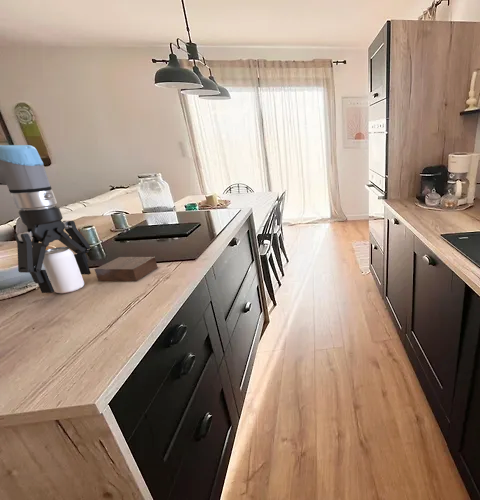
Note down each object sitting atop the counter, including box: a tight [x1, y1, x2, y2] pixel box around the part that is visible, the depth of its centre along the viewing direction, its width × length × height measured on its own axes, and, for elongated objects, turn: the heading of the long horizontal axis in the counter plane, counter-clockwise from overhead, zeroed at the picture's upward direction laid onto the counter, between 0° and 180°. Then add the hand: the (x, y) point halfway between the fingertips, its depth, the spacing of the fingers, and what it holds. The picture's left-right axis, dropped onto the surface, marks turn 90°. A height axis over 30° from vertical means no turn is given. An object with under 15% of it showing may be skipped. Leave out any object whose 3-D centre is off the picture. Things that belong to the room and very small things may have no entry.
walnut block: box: [94, 256, 159, 282], centre depth 92 cm, size 12×10×4 cm
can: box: [42, 246, 85, 295], centre depth 81 cm, size 6×6×12 cm
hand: (68, 282), depth 83 cm, fingers open, 11 cm apart
